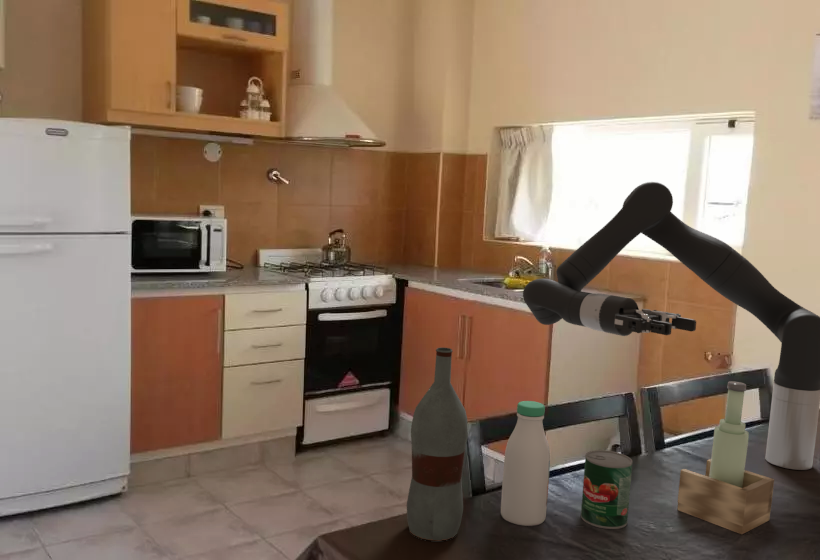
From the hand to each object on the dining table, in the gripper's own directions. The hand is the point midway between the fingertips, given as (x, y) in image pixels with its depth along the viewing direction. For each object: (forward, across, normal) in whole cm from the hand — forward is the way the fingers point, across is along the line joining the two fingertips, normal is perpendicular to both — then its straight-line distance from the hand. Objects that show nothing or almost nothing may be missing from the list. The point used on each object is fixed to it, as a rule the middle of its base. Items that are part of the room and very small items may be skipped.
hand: (683, 327), depth 144 cm
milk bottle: (-9, -31, +32) cm, 46 cm away
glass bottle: (+11, 0, +30) cm, 32 cm away
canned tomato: (0, -20, +32) cm, 38 cm away
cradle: (+11, 0, +32) cm, 34 cm away
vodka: (-14, -47, +32) cm, 59 cm away
